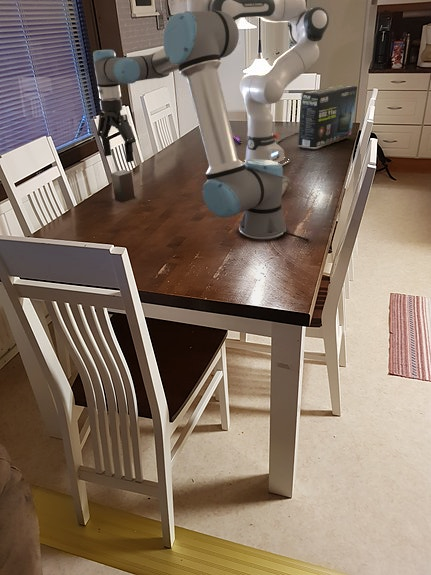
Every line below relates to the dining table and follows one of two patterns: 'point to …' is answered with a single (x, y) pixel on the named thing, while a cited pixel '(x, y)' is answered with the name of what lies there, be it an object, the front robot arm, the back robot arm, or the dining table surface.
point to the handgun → (237, 139)
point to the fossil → (285, 183)
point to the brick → (123, 185)
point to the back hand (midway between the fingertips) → (200, 70)
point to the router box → (326, 115)
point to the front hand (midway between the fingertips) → (118, 158)
